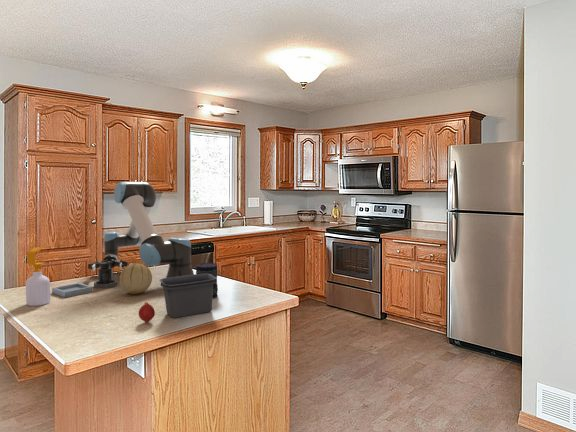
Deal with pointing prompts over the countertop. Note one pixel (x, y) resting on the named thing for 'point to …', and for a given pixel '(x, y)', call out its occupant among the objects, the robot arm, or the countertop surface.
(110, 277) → the supplement bottle
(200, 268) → the storage jar
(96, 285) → the holster ring
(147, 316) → the pomegranate
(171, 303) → the storage bin
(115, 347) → the countertop surface
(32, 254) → the soap bottle
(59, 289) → the tray
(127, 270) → the cantaloupe
